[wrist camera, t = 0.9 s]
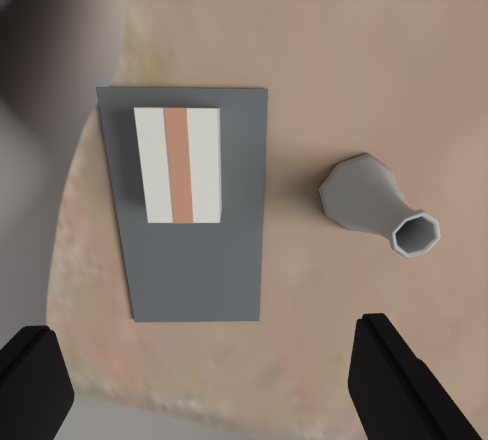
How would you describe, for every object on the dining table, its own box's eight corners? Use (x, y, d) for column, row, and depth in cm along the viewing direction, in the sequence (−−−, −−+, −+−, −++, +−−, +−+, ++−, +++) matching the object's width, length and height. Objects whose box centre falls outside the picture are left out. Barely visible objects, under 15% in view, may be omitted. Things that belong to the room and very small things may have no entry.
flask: (343, 239, 30) (391, 301, 20) (304, 186, 28) (338, 228, 18) (406, 197, 28) (490, 243, 19) (370, 138, 26) (445, 156, 17)
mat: (98, 87, 24) (96, 87, 23) (267, 89, 24) (267, 89, 24) (136, 319, 33) (134, 322, 32) (258, 317, 33) (259, 320, 33)
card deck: (147, 107, 24) (133, 107, 21) (219, 107, 24) (217, 108, 21) (158, 208, 27) (147, 223, 24) (221, 208, 28) (219, 223, 24)
